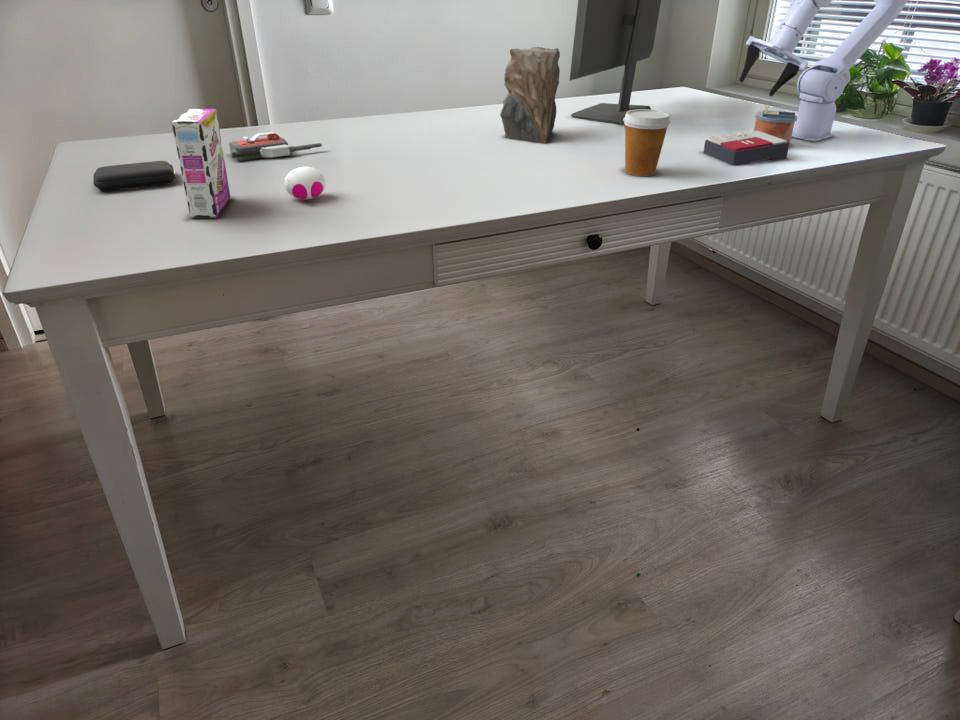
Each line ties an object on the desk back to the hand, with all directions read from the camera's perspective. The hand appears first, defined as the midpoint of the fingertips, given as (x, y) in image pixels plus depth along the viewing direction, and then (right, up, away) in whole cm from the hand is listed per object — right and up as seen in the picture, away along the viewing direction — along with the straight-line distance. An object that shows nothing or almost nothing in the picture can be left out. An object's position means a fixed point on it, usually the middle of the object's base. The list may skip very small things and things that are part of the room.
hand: (755, 88), depth 163 cm
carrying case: (-133, -28, -23) cm, 138 cm away
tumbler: (+6, -11, +7) cm, 15 cm away
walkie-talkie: (-111, -17, -4) cm, 112 cm away
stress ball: (-97, -33, -31) cm, 107 cm away
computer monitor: (-28, +4, +32) cm, 43 cm away
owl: (-51, -8, +11) cm, 53 cm away
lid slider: (+5, -5, +4) cm, 8 cm away
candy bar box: (-113, -36, -36) cm, 124 cm away
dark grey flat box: (-4, -17, -2) cm, 17 cm away
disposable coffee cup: (-30, -24, -14) cm, 41 cm away
